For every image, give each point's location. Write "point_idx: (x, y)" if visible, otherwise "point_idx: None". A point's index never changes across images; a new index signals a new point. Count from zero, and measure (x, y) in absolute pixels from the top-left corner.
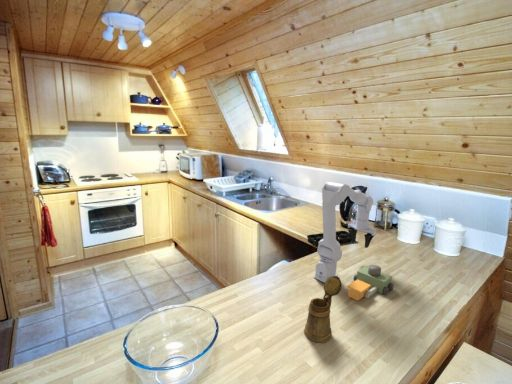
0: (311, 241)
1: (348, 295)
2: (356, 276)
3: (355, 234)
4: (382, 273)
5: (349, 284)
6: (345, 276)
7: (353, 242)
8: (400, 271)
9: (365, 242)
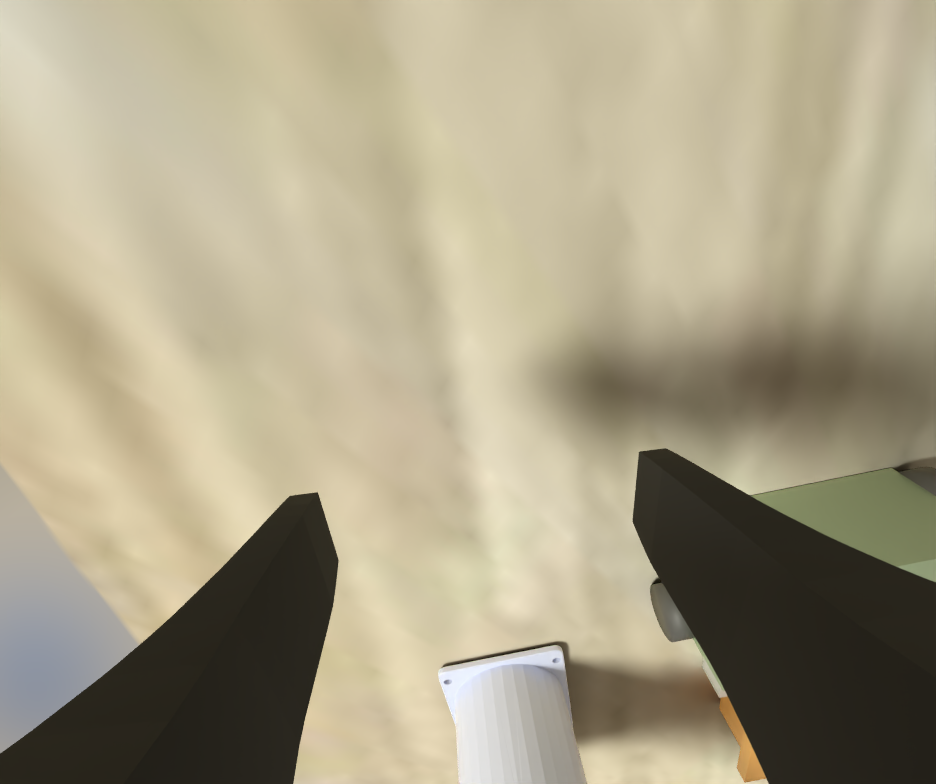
0: None
1: (722, 713)
2: (689, 638)
3: (230, 693)
4: (920, 566)
5: (748, 770)
6: (569, 603)
7: (330, 540)
8: (926, 38)
9: (718, 652)
